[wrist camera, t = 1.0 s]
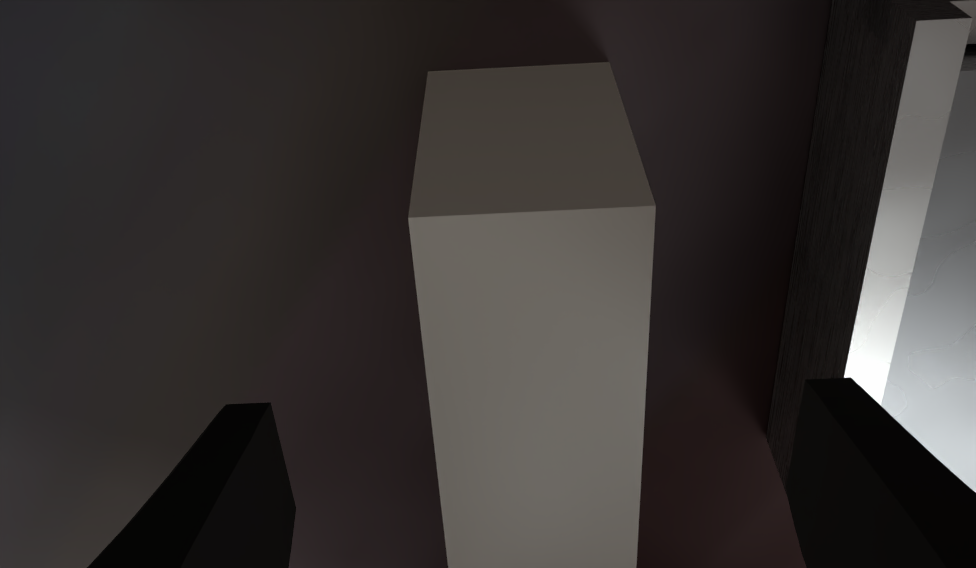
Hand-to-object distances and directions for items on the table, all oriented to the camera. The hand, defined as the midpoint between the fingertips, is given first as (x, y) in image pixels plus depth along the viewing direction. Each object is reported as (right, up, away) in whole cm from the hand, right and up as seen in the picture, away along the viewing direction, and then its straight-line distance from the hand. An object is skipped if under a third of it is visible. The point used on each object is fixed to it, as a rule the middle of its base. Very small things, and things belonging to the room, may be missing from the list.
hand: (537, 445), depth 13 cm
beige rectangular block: (0, +3, +5) cm, 6 cm away
